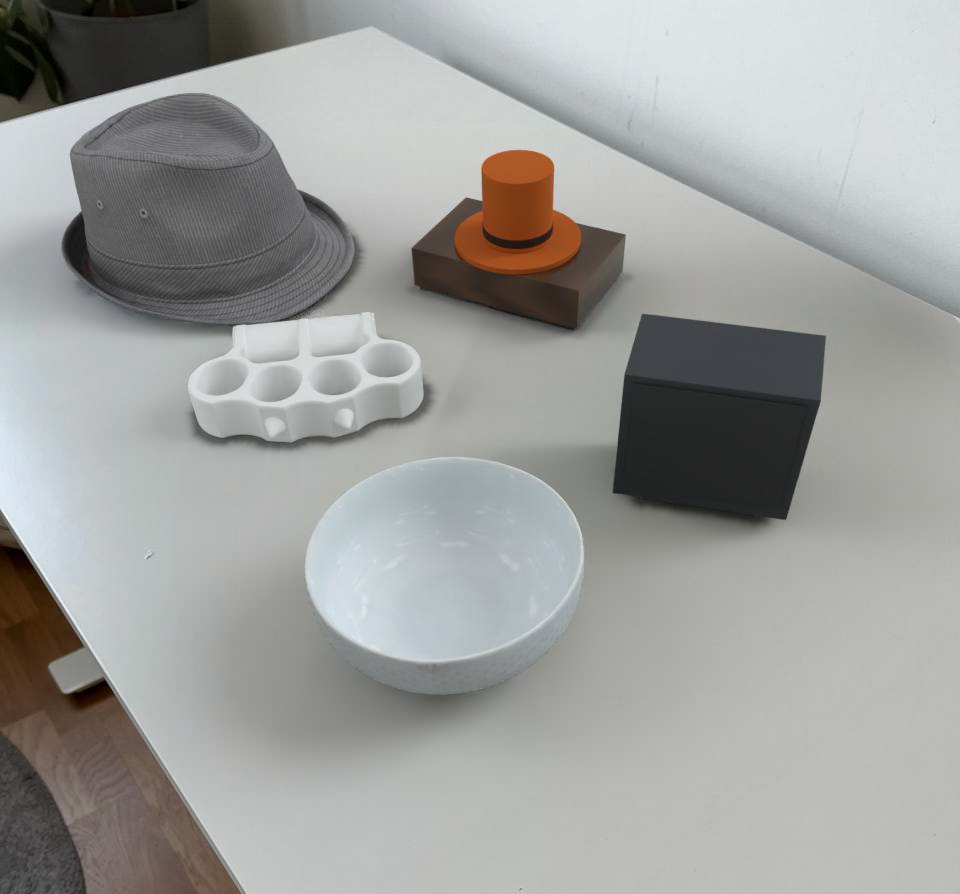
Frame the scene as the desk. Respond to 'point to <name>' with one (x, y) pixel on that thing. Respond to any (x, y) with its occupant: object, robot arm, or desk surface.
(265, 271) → the fedora
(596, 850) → the desk surface
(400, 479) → the cereal bowl
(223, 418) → the white brass knuckles
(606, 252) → the brown wooden block
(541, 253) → the top hat
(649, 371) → the dark grey cabinet box
